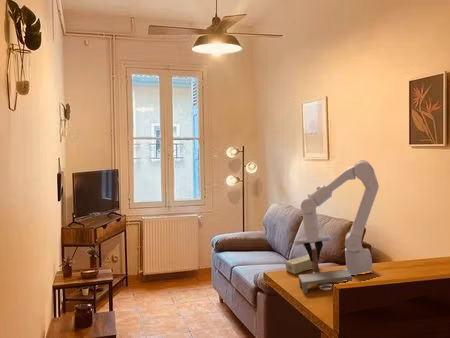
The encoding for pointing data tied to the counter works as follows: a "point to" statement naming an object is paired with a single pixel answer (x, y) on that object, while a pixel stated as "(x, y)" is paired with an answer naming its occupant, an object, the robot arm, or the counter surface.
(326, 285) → the steel token
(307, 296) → the counter surface
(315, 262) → the brown piece
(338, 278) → the u-shaped block
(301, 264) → the skincare box
